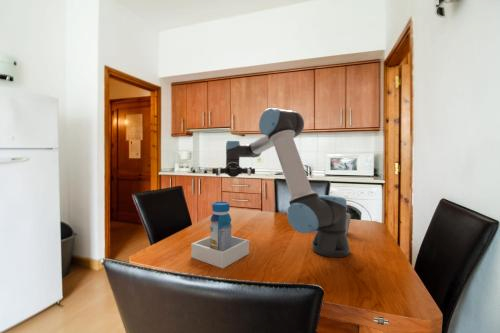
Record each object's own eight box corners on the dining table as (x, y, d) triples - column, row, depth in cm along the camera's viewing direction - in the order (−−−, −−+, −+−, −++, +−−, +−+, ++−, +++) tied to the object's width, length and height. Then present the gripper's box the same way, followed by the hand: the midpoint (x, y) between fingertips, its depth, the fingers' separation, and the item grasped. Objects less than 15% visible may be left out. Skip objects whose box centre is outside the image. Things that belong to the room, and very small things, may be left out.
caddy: (248, 253, 100) (248, 240, 100) (222, 268, 87) (222, 253, 87) (219, 245, 110) (219, 232, 109) (191, 257, 96) (191, 243, 96)
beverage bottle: (228, 257, 94) (228, 205, 93) (207, 256, 95) (207, 204, 94) (233, 249, 102) (233, 201, 101) (213, 248, 103) (213, 200, 102)
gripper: (256, 176, 133) (262, 180, 111) (209, 176, 130) (205, 181, 109) (256, 162, 132) (262, 164, 111) (209, 162, 130) (205, 164, 109)
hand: (234, 172), depth 110 cm, fingers open, 13 cm apart
